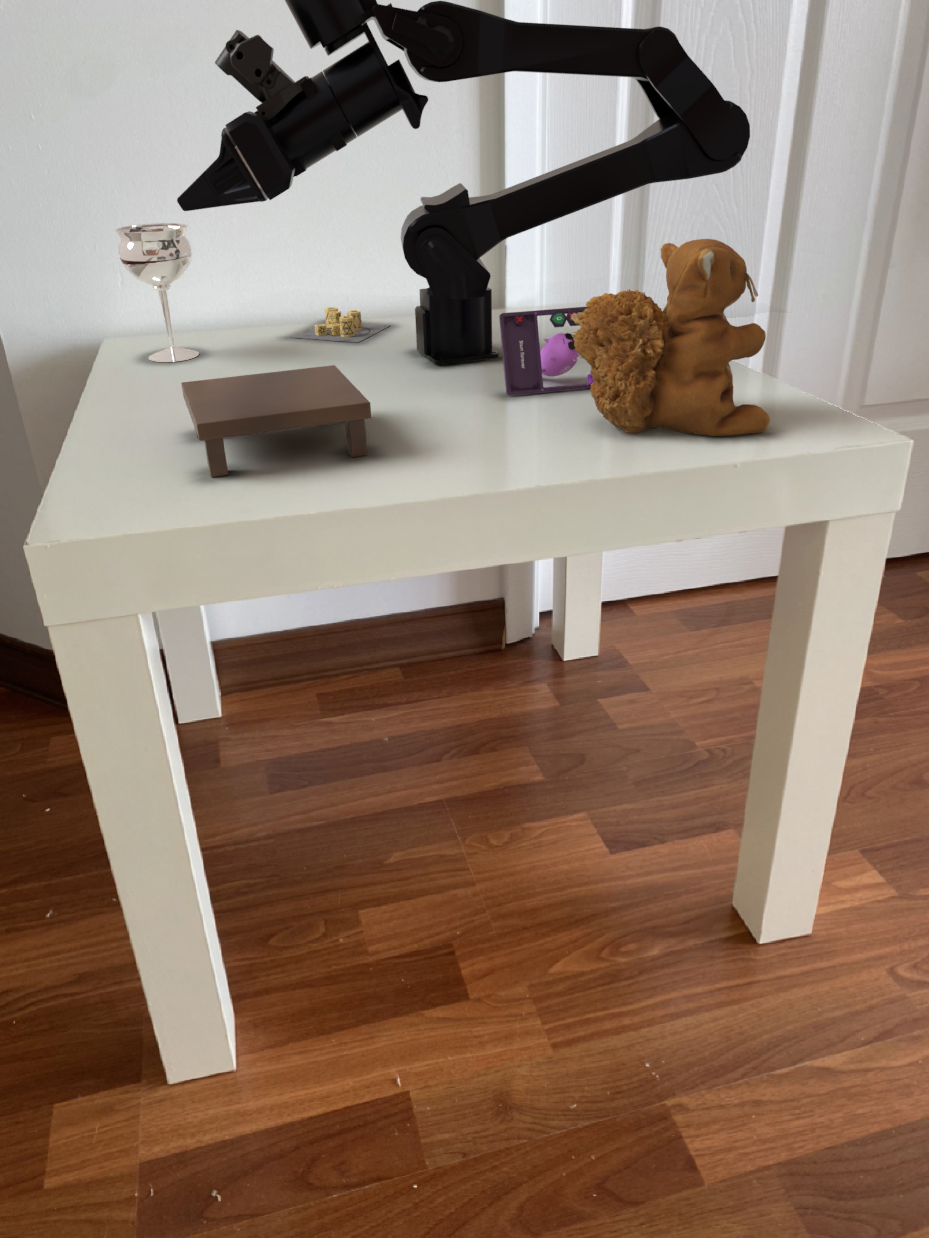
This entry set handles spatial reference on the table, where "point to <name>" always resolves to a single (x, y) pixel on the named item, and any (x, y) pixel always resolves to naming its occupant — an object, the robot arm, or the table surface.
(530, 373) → the game card
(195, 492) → the table surface
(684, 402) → the stuffed squirrel
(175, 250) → the wineglass
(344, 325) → the dice set
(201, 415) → the side table
